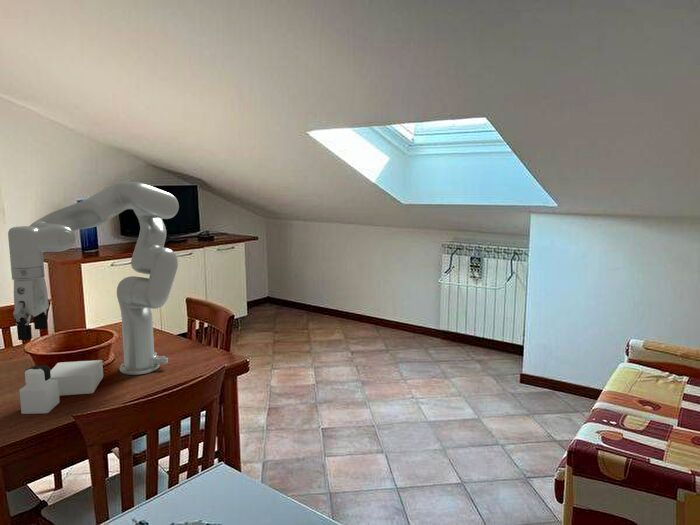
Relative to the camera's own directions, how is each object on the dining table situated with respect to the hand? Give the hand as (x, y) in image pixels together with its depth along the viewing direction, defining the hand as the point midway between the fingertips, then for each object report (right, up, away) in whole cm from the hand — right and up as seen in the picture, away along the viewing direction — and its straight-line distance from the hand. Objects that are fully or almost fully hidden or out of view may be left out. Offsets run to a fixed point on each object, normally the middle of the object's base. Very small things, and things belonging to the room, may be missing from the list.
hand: (33, 334), depth 141 cm
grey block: (+1, -19, +19) cm, 27 cm away
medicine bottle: (0, -22, +4) cm, 22 cm away
